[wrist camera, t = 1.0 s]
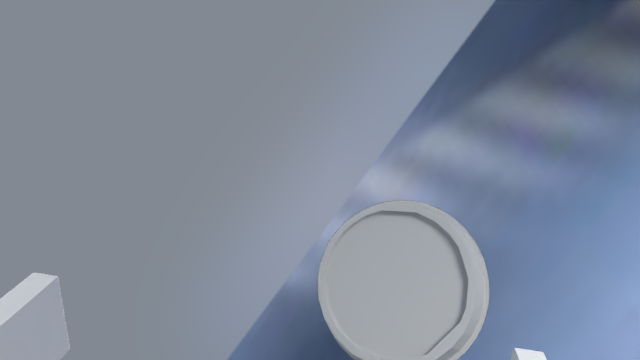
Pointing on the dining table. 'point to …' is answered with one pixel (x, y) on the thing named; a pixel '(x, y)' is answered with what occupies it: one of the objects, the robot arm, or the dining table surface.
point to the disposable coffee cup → (403, 284)
